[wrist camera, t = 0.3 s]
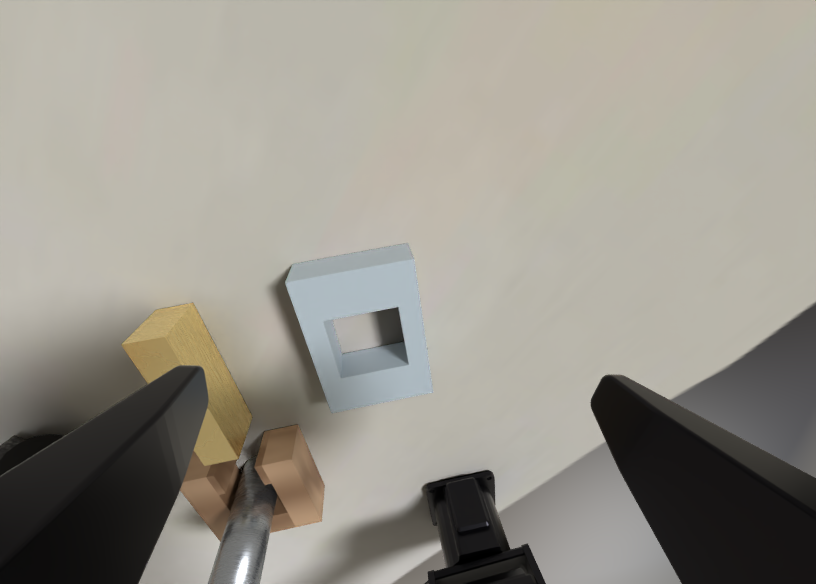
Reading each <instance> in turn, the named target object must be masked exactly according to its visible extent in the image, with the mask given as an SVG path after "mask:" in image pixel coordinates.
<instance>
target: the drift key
mask: <svg viewBox="0 0 816 584" xmlns="http://www.w3.org/2000/svg"><path fill="white" fill-rule="evenodd" d="M122 347H123V348H124V350H125V351H126V353H127V354H128V355H129V357H130V358H131V360H132V361H133V363H134V364H135V366H136V367H137V369H138V370H139V371H140V373H141V374H142V376H143V377H144V379H145V380H146V382H147V383H148V384H149V383H150V382H152V381H154V380H155V379H157V378H159V377H160V376H162V375H163V374H165V373H167V372H168V371H170V370H171V369H173V368H175V367H177V366H179V365H198V366H201V367H203V369H204V372H205V378H206V384H207V390H208V397H209V401H208V407H207V411H206V414H205V417H204V420H203V423H202V426H201V429H200V432H199V435H198V438H197V441H196V445H195V448H194V452H195V453H196V454H197V456H198V457H199V459H200V460H201V462H202V463H203V465H204V466H207V465H212V464H217V463H222V462H226V461H231V460H236V459H239V456H240V453H241V450H242V447H243V444H244V441H245V438H246V435H247V432H248V429H249V426H250V423H251V420H252V415H251V413H250V411H249V409H248V407H247V405H246V403H245V402H244V400H243V398H242V396H241V394H240V392H239V390H238V388H237V386H236V384H235V382H234V380H233V378H232V377H231V375H230V373H229V371H228V369H227V367H226V365H225V363H224V361H223V359H222V357H221V355H220V353H219V352H218V350H217V348H216V346H215V344H214V342H213V340H212V338H211V336H210V334H209V332H208V330H207V328H206V327H205V325H204V323H203V321H202V319H201V317H200V315H199V313H198V311H197V309H196V307H195V305H194V303H190V304H184V305H179V306H174V307H168V308H163V309H158V310H155V311H154V312H153V313H152V314H151V315H150V316H149V317H148V318H147V319H146V320H145V321H144V322H143V323H142V324H141V325H140V326H139V327H138V328H137V329H136V330H135V331H134V332H133V333H132V334H131V335H130V336H129V337H128V338H127V339H126V340H125V341H124V342H123V344H122Z"/></svg>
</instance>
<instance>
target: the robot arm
mask: <svg viewBox="0 0 816 584" xmlns="http://www.w3.org/2000/svg"><path fill="white" fill-rule="evenodd" d="M208 401H209V397H208V390H207V384H206V378H205V372H204V369H203V367H201V366H198V365H179V366H177V367H175V368H173V369H171V370H170V371H168V372H167V373H165V374H163V375H162V376H160V377H159V378H157V379H155V380H154V381H152V382H150V383H149V384H147V385H146V386H144V387H142V388H141V389H139V390H138V391H136V392H134V393H133V394H131V395H130V396H128V397H126V398H125V399H123V400H122V401H120V402H118V403H117V404H115V405H114V406H112V407H110V408H109V409H107V410H105V411H104V412H102V413H101V414H99V415H97V416H96V417H94V418H93V419H91V420H89V421H88V422H86V423H85V424H83V425H81V426H80V427H78V428H77V429H75V430H73V431H72V432H70V433H69V434H67V435H65V436H64V437H62V438H60V439H59V440H57V441H56V442H54V443H52V444H51V445H49V446H48V447H46V448H44V449H43V450H41V451H40V452H38V453H36V454H35V455H33V456H32V457H30V458H28V459H27V460H25V461H24V462H22V463H20V464H19V465H17V466H15V467H14V468H12V469H11V470H9V471H7V472H6V473H4V474H3V475H1V476H0V584H138V583H139V581H140V579H141V576H142V574H143V572H144V570H145V567H146V565H147V563H148V561H149V559H150V556H151V554H152V552H153V550H154V547H155V545H156V543H157V541H158V538H159V536H160V534H161V532H162V530H163V527H164V525H165V523H166V521H167V518H168V516H169V514H170V512H171V510H172V507H173V505H174V503H175V501H176V498H177V496H178V494H179V491H180V489H181V486H182V484H183V481H184V478H185V475H186V472H187V469H188V466H189V463H190V460H191V457H192V454H193V451H194V448H195V445H196V441H197V438H198V435H199V432H200V429H201V426H202V423H203V420H204V417H205V414H206V411H207V407H208ZM591 409H592V411H593V413H594V416H595V418H596V420H597V422H598V425H599V427H600V429H601V431H602V433H603V436H604V438H605V440H606V442H607V445H608V447H609V449H610V451H611V453H612V456H613V458H614V460H615V462H616V464H617V466H618V469H619V471H620V472H621V474H622V476H623V478H624V480H625V482H626V483H627V485H628V487H629V489H630V491H631V493H632V494H633V496H634V498H635V500H636V502H637V503H638V505H639V507H640V509H641V511H642V512H643V514H644V516H645V518H646V520H647V521H648V523H649V525H650V527H651V529H652V531H653V532H654V534H655V536H656V538H657V540H658V541H659V543H660V545H661V547H662V549H663V550H664V552H665V554H666V556H667V558H668V559H669V561H670V563H671V565H672V566H673V568H674V570H675V572H676V574H677V576H678V577H679V579H680V581H681V583H682V584H816V478H814V477H813V476H811V475H809V474H807V473H805V472H803V471H801V470H800V469H797V468H796V467H794V466H792V465H790V464H788V463H787V462H785V461H783V460H781V459H779V458H777V457H775V456H773V455H772V454H770V453H768V452H766V451H764V450H762V449H760V448H758V447H756V446H754V445H753V444H751V443H749V442H747V441H745V440H743V439H742V438H740V437H738V436H736V435H734V434H732V433H730V432H728V431H727V430H725V429H723V428H721V427H719V426H717V425H715V424H713V423H712V422H710V421H708V420H706V419H704V418H702V417H700V416H698V415H697V414H695V413H693V412H691V411H689V410H687V409H685V408H684V407H681V406H680V405H678V404H676V403H674V402H672V401H670V400H669V399H667V398H665V397H663V396H661V395H659V394H657V393H655V392H654V391H652V390H650V389H648V388H646V387H644V386H642V385H640V384H639V383H637V382H635V381H633V380H631V379H629V378H627V377H625V376H623V375H605V376H604V377H603V378H602V379H601V381H600V383H599V385H598V387H597V388H596V390H595V392H594V394H593V396H592V398H591ZM426 491H427V497H428V502H429V507H430V512H431V517H432V522H433V525H434V526H438V531H439V536H440V541H441V546H442V551H443V556H444V562H445V566H446V568H444V569H441V570H437V571H434V570H432V571H428V581H427V582H426V583H425V584H546V583H545V581H544V579H543V577H542V574H541V572H540V570H539V568H538V565H537V563H536V561H535V559H534V556H533V554H532V552H531V550H530V548H529V545H528V544H524V545H522V547H519V548H515V549H510V547H509V544H508V541H507V538H506V535H505V532H504V530H503V527H502V524H501V521H500V518H499V515H498V512H497V510H496V507H495V479H494V475H493V472H491V471H487V472H482V473H478V474H473V475H469V476H464V477H460V478H455V479H450V480H446V481H441V482H437V483H432V484H429V485H427V486H426Z"/></svg>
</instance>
